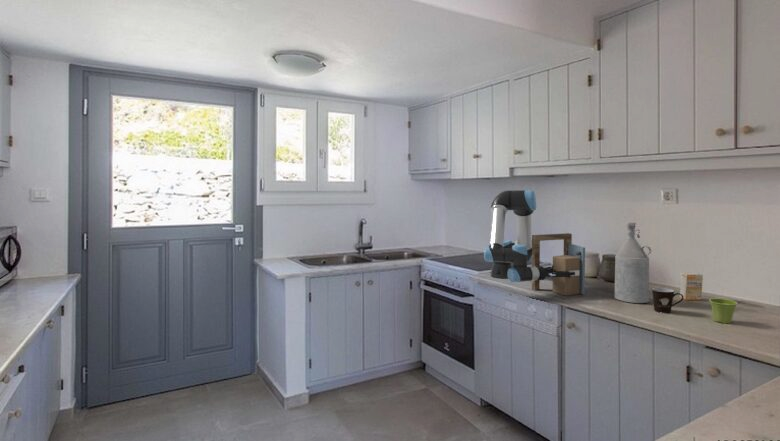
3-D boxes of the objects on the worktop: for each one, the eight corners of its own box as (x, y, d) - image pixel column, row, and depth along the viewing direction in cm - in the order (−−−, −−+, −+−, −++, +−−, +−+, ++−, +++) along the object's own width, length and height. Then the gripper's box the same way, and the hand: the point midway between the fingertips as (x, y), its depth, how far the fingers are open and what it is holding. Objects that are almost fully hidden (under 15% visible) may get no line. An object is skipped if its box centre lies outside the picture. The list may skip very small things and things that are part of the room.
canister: (641, 306, 206) (643, 224, 203) (608, 298, 221) (609, 221, 218) (656, 302, 212) (659, 222, 209) (623, 295, 227) (625, 220, 224)
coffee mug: (649, 311, 197) (649, 290, 197) (654, 307, 203) (654, 286, 203) (678, 316, 189) (679, 294, 188) (683, 312, 195) (684, 290, 194)
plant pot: (741, 325, 176) (742, 304, 175) (716, 324, 177) (717, 303, 177) (728, 318, 185) (728, 298, 184) (703, 317, 187) (704, 298, 186)
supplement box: (685, 300, 215) (686, 274, 214) (679, 298, 219) (680, 272, 218) (702, 300, 214) (703, 274, 213) (695, 297, 219) (696, 272, 218)
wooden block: (552, 291, 237) (552, 256, 235) (566, 290, 240) (566, 254, 239) (565, 296, 227) (565, 258, 226) (580, 294, 231) (580, 257, 229)
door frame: (531, 289, 244) (532, 235, 242) (567, 286, 250) (568, 233, 247) (534, 290, 241) (535, 235, 239) (571, 287, 247) (571, 233, 244)
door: (564, 287, 245) (565, 243, 244) (569, 286, 246) (570, 243, 244) (579, 294, 229) (579, 247, 227) (584, 293, 229) (585, 247, 227)
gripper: (524, 276, 240) (558, 273, 245) (548, 284, 218) (586, 282, 223) (524, 262, 240) (558, 260, 245) (549, 270, 217) (586, 267, 222)
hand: (571, 270), depth 234 cm, fingers closed on wooden block, 11 cm apart
